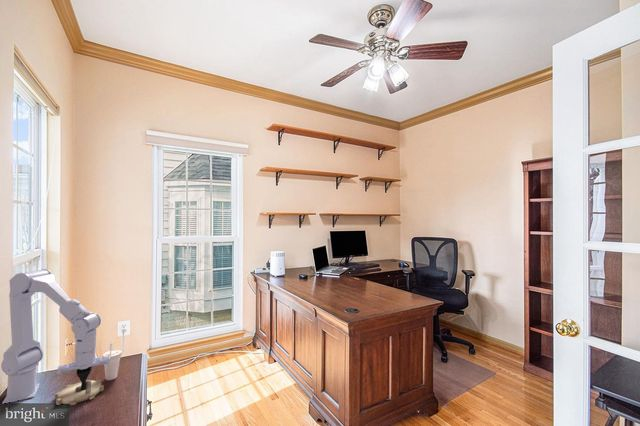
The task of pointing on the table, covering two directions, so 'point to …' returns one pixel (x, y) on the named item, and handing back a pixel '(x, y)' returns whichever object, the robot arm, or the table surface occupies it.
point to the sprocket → (78, 392)
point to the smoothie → (112, 363)
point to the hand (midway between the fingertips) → (83, 388)
